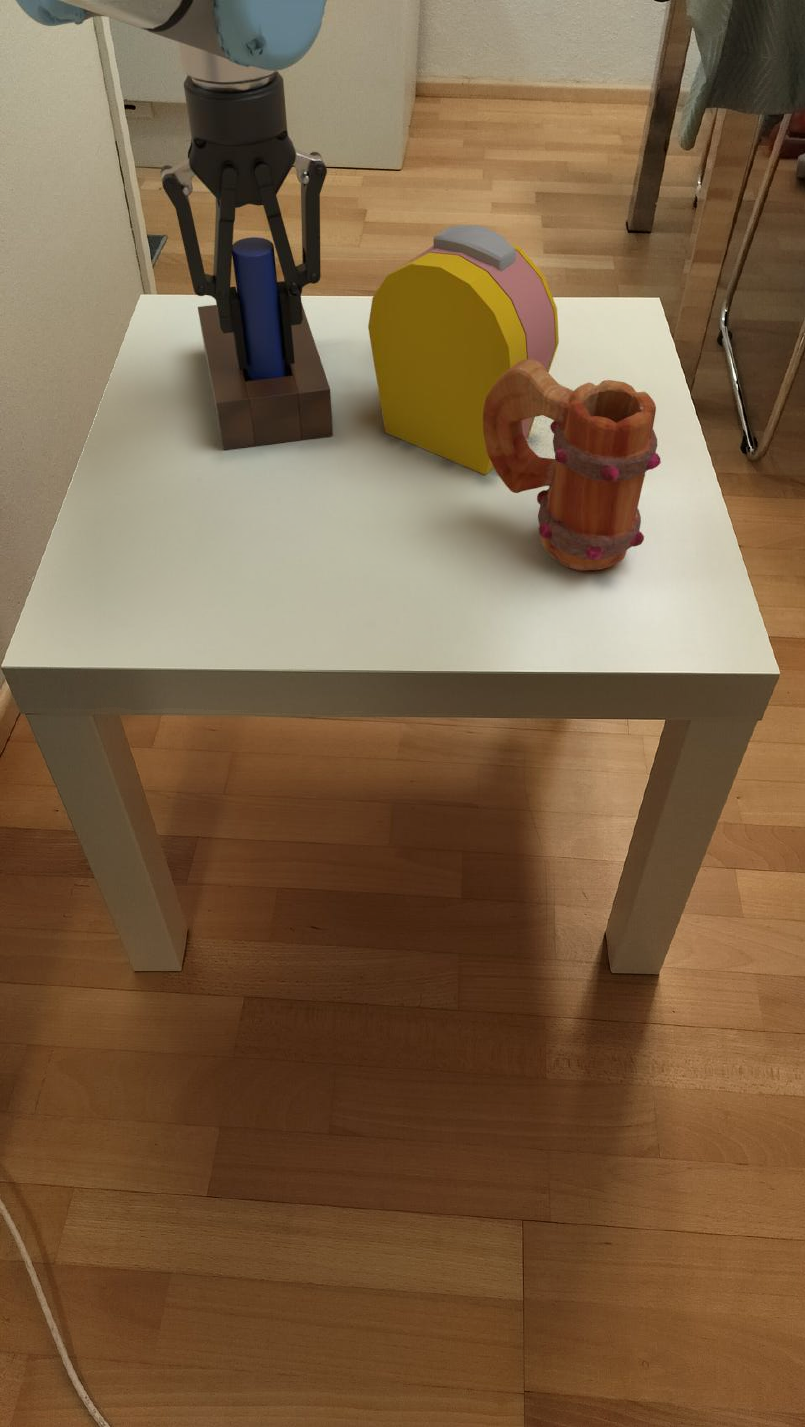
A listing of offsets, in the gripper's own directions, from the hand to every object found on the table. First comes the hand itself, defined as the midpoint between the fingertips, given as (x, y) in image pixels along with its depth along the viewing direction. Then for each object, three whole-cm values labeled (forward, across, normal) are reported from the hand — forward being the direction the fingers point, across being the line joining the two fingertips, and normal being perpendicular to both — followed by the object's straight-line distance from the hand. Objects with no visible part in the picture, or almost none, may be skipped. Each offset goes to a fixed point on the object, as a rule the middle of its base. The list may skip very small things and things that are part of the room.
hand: (265, 358), depth 93 cm
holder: (+6, 0, -4) cm, 7 cm away
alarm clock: (+6, -17, +7) cm, 19 cm away
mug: (+6, -21, +24) cm, 33 cm away
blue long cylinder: (+2, 0, 0) cm, 2 cm away
